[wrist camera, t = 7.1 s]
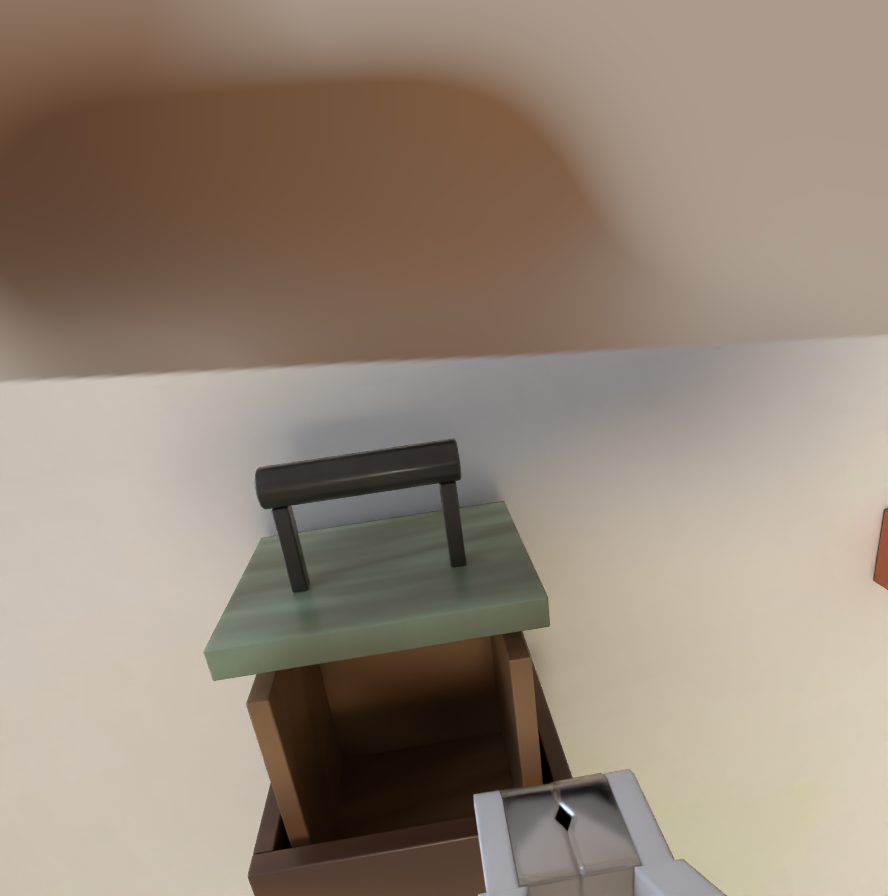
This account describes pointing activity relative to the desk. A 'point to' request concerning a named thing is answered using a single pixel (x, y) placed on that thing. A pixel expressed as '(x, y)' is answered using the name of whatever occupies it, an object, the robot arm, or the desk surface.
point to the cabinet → (388, 848)
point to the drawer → (385, 649)
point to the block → (883, 555)
